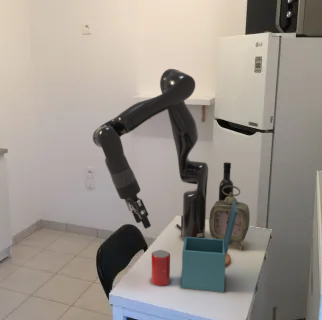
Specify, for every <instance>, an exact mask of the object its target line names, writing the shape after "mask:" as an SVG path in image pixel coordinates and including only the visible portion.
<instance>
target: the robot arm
mask: <svg viewBox="0 0 322 320" xmlns="http://www.w3.org/2000/svg"><path fill="white" fill-rule="evenodd" d="M159 88H160V91H161V93H160V94H159V95H157V96H155V97H151V98H148V99H145V100H141V101H138V102H136V103H134V104H132V105H130V106H129V107H127V108H126V109H125V110H123V111H122V112H120V113H119V114H118V115H117V116H115V117H113V118H111V119H110V120H108V121H106V122H104V123H103V124H102V125H99V126H98V127H97V128H96V129H95V130H94V132H93V134H92V141H93V143H94V145H95V146H97V147H99V148H101V149H102V153H103V154H104V157H105V158H104V163H105V166H106V169H107V170H108V172H109V175H110V178H111V181H112V184H113V185H114V188H115V190H116V192H117V194H118V197H119V199H121V200H124V201H125V204H126V206H127V209H128V211H129V212H130V214H132V216H133V219H134V220H135V223H137V224H140V223H142V226H143V228H144V229H148V228H151V226H152V224H151V222H150V220H149V217H148V216H149V212H148V210H147V208H146V206H145V204H144V201H143V199H142V198H140V197H138V194H140V192H141V187H140V184H139V182H138V180H137V178H136V176H135V174H134V171H133V169H132V168H131V166H130V164H129V161H128V159H127V157H126V155H125V152H124V147H123V142H122V139H121V137H122V136H124V135H127V134H129V133H132V132H133V131H135V130H136V129H137V128H139V127H140V126H141V125H143V124H144V123H146V122H147V121H149V120H150V119H152V118H153V117H155V116H157V115H159V114H161V113H163V112H165V111H167V114H168V119H169V124H170V129H171V133H172V139H173V142H174V147H175V151H176V156H177V163H178V164H177V165H178V173H179V178H180V181H181V182H182V183H185V184H189V185H196V187H195V188H193V189H188V190H186V191H184V192H183V194H182V195H183V196H182V215H181V216H180V224H178V223H176V227H177V229H179V230H180V237H181V239H182V241H184V239H185V237H196V238H206V218H207V215H206V214H207V213H206V212H207V193H208V180H209V179H208V178H209V166H208V163H206V162H204V161H198V160H197V161H196V160H190V159H189V155H190V154H191V151H193V149H194V148H195V146H196V145H197V142H198V140H199V132H198V126H197V122H196V119H195V118H194V115H193V114H192V112H191V110H190V109H189V107H188V106H187V104H186V102H185V101H186V100H188V99H189V98H190V97H191V96H192V95H193V94H194V92H195V89H196V81H195V79H194V78H193V76H191V75H190V74H188V73H185V72H183V71H181V70H179V69H175V68H168V69H166V70H164V72H163V73H162V74H161V77H160V79H159Z"/></svg>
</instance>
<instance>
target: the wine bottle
mask: <svg viewBox="0 0 322 320" xmlns="http://www.w3.org/2000/svg"><path fill="white" fill-rule="evenodd" d="M231 169H232V162H226V161H225V162H223V178H222V179H221V181H220V182H219V186H218V201H220V200H225V198H226V197H228V196H227V195H225V194H224V193H223V192H225V193H227V194H230V192H232V194H233V195H234V188H233V187H226V188H224V189H223V187H225V186H234V183H233V182H234V181H232V180H231ZM222 189H223V192H222ZM232 197H234V196H232Z"/></svg>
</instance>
